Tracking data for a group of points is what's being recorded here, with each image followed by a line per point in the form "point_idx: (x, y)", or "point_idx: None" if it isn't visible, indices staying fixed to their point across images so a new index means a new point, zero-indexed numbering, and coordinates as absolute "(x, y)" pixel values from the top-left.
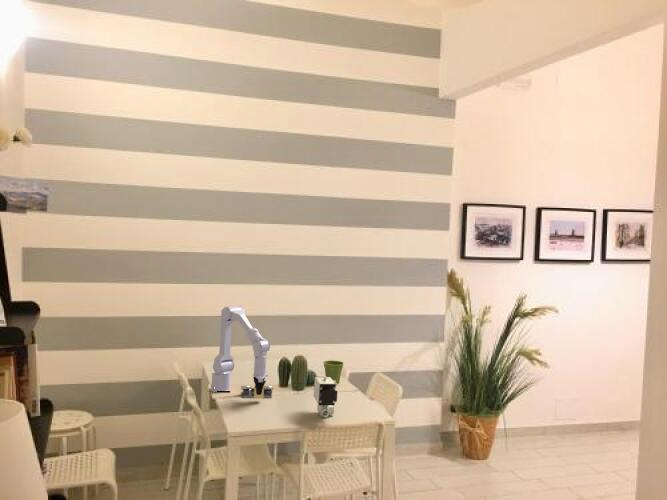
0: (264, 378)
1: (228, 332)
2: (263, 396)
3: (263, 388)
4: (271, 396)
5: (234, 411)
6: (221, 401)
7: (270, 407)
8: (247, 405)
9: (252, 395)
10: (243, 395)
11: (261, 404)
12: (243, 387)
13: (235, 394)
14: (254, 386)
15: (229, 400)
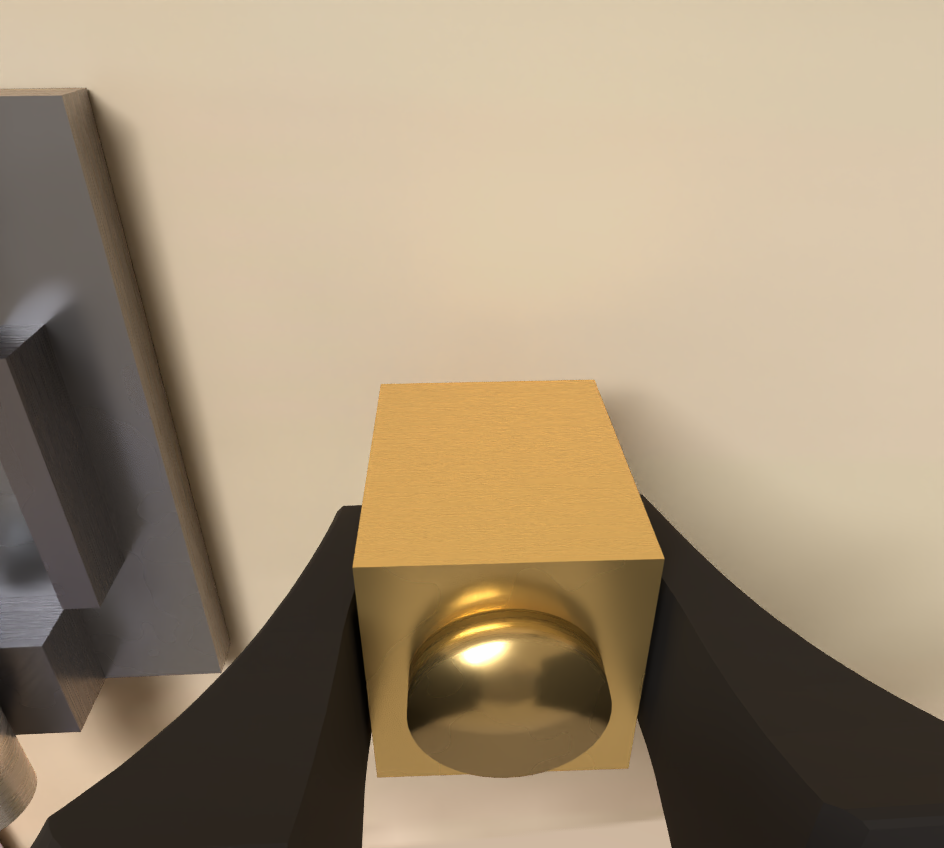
0: (293, 844)
1: None
2: (131, 319)
3: (659, 560)
4: (73, 101)
5: (934, 713)
6: (458, 839)
7: (912, 177)
8: None
9: (158, 541)
10: (201, 670)
11: (652, 361)
12: (5, 786)
13: (52, 733)
14: (453, 772)
15: (404, 778)
